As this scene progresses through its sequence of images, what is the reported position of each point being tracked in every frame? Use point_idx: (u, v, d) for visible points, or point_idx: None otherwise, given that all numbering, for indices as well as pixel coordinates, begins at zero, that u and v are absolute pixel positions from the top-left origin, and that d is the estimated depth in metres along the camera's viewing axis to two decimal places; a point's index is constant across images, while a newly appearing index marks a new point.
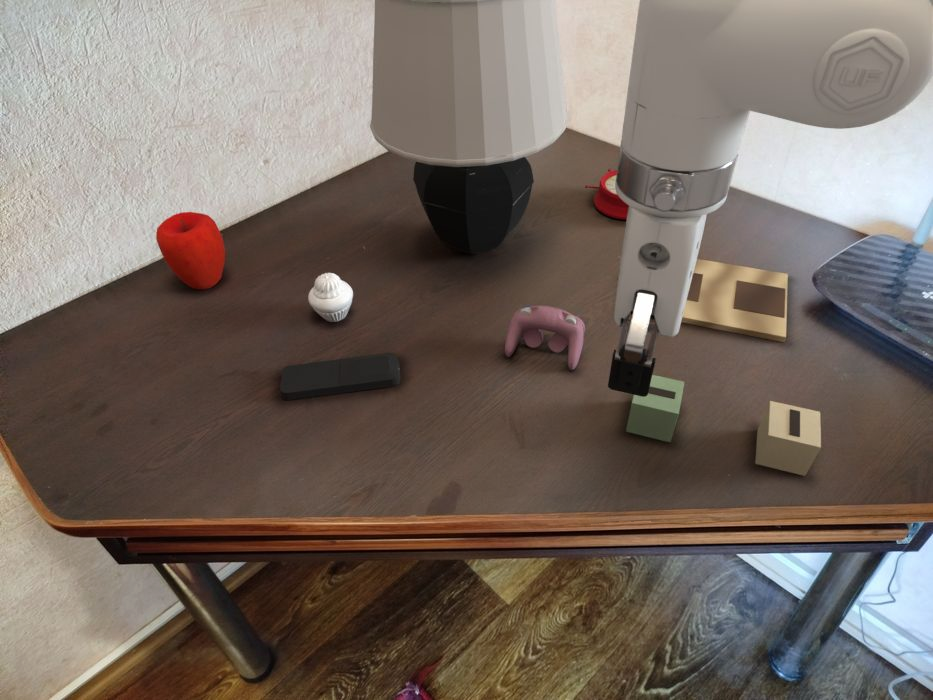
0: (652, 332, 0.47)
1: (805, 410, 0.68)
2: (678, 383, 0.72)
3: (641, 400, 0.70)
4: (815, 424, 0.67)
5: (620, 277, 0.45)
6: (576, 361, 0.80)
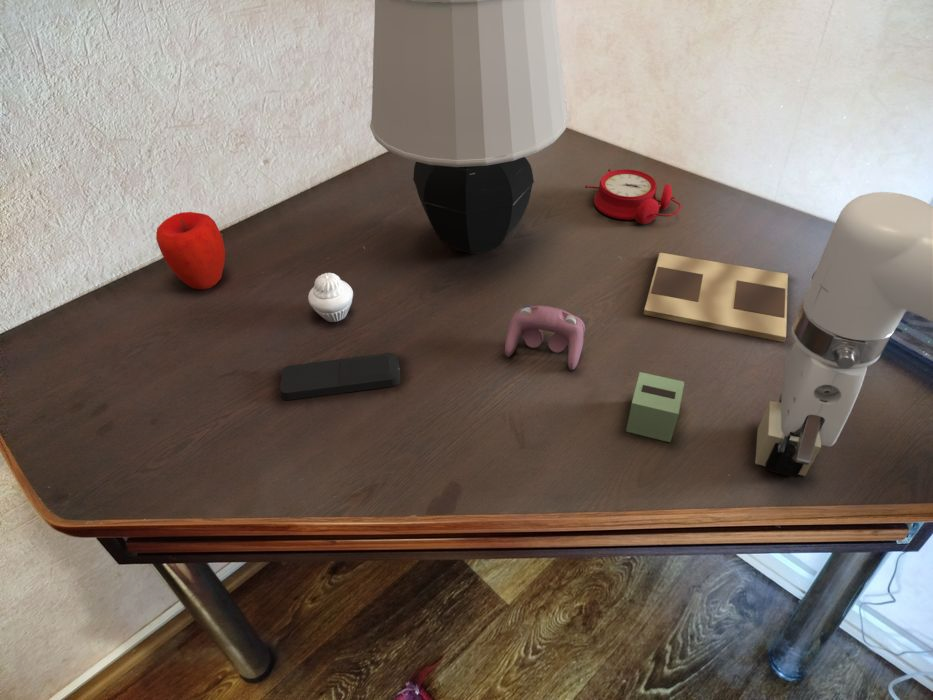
0: None
1: None
2: (678, 383, 0.72)
3: (641, 400, 0.70)
4: None
5: (795, 404, 0.59)
6: (576, 361, 0.80)
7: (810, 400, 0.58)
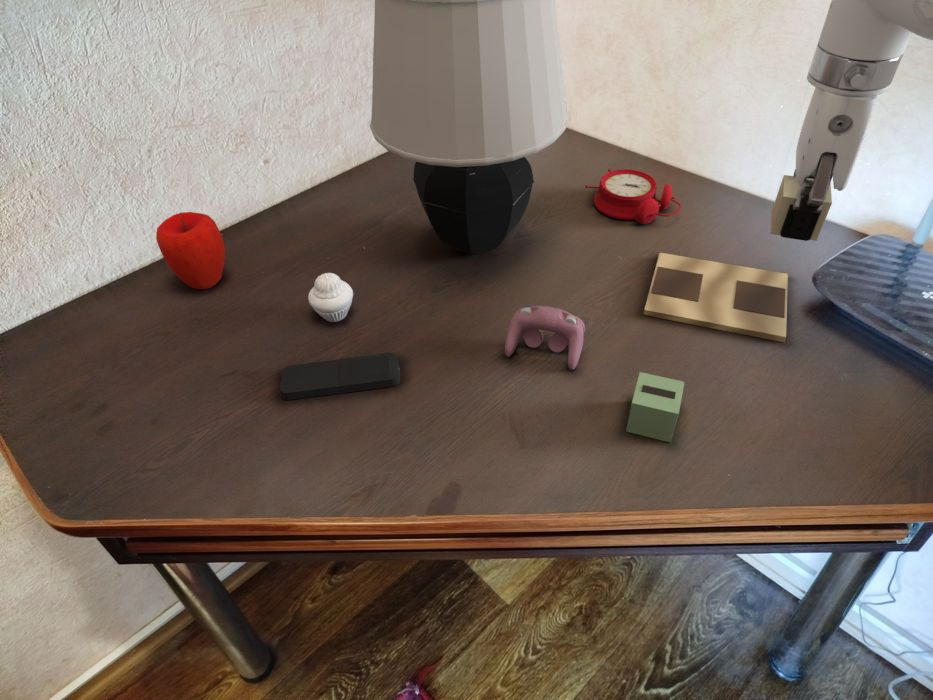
0: None
1: None
2: (678, 383, 0.72)
3: (641, 400, 0.70)
4: None
5: (810, 144, 0.65)
6: (576, 361, 0.80)
7: (824, 135, 0.63)
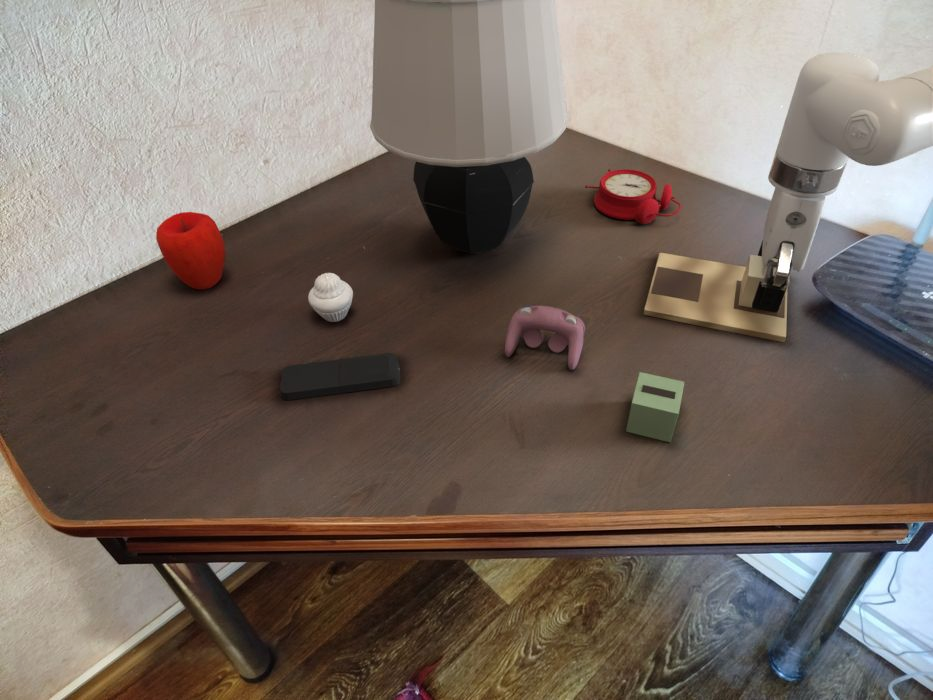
0: None
1: None
2: (678, 383, 0.72)
3: (641, 400, 0.70)
4: None
5: (771, 234, 0.76)
6: (576, 361, 0.80)
7: (782, 227, 0.75)
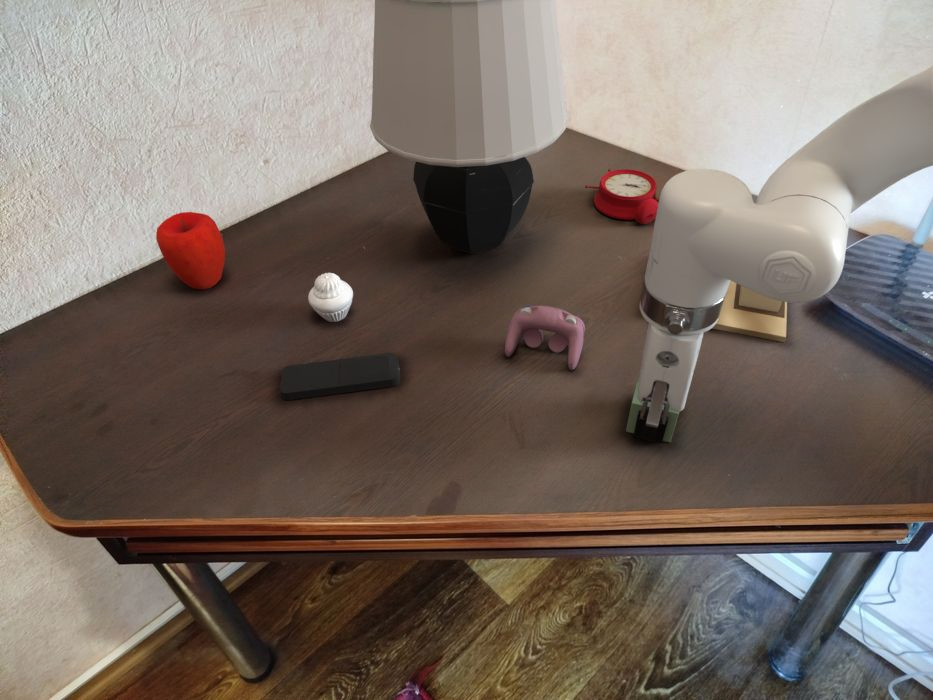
0: (665, 405, 0.67)
1: None
2: None
3: None
4: None
5: (643, 370, 0.63)
6: (576, 361, 0.80)
7: (654, 366, 0.62)
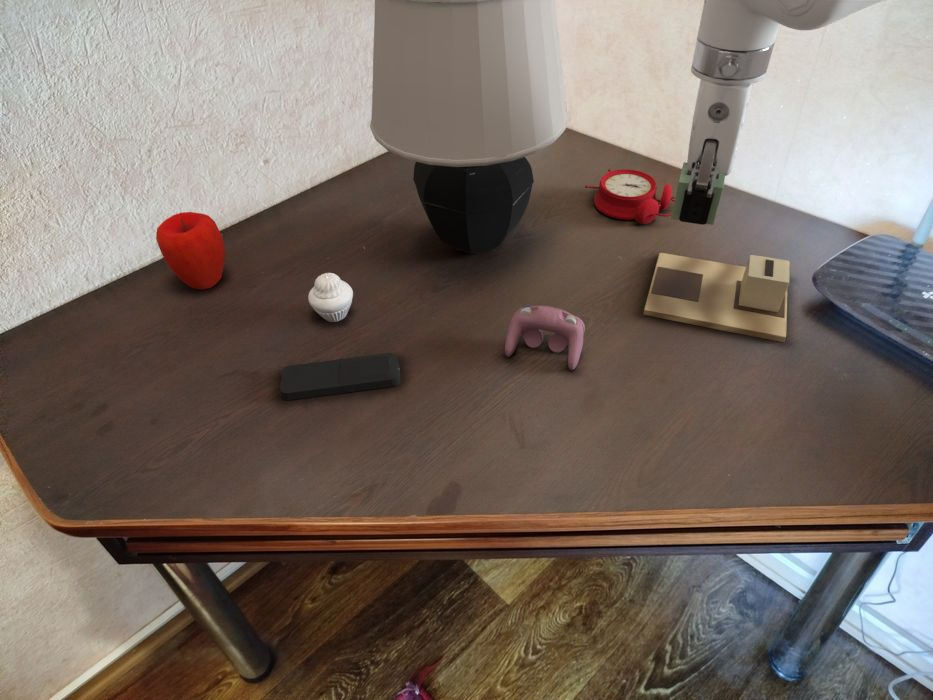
0: (712, 175, 0.72)
1: (778, 260, 0.85)
2: None
3: (687, 180, 0.75)
4: (785, 268, 0.84)
5: (694, 131, 0.68)
6: (576, 361, 0.80)
7: (705, 122, 0.67)
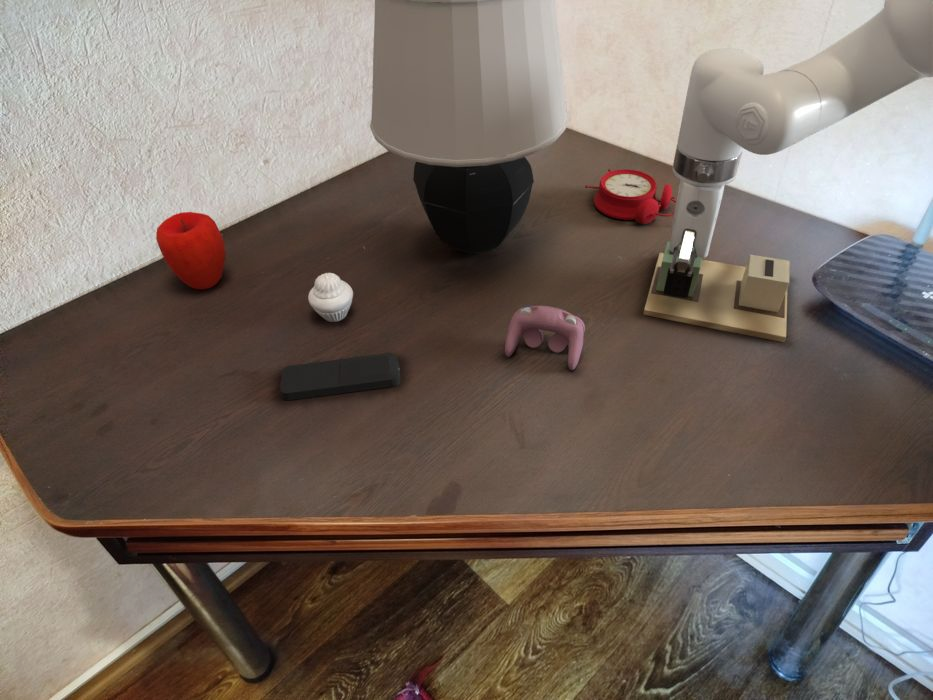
0: (692, 255, 0.81)
1: (778, 260, 0.85)
2: None
3: (670, 259, 0.86)
4: (785, 268, 0.84)
5: (675, 222, 0.79)
6: (576, 361, 0.80)
7: (684, 216, 0.78)
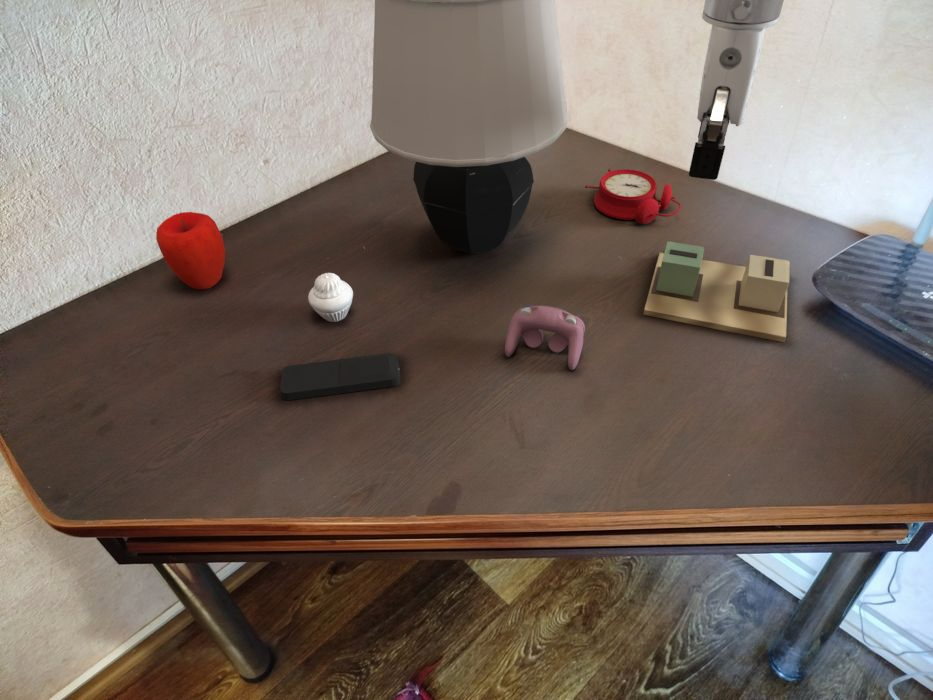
0: (724, 123, 0.69)
1: (778, 260, 0.85)
2: (699, 247, 0.88)
3: (670, 259, 0.86)
4: (785, 268, 0.84)
5: (705, 79, 0.67)
6: (576, 361, 0.80)
7: (716, 69, 0.66)
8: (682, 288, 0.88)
